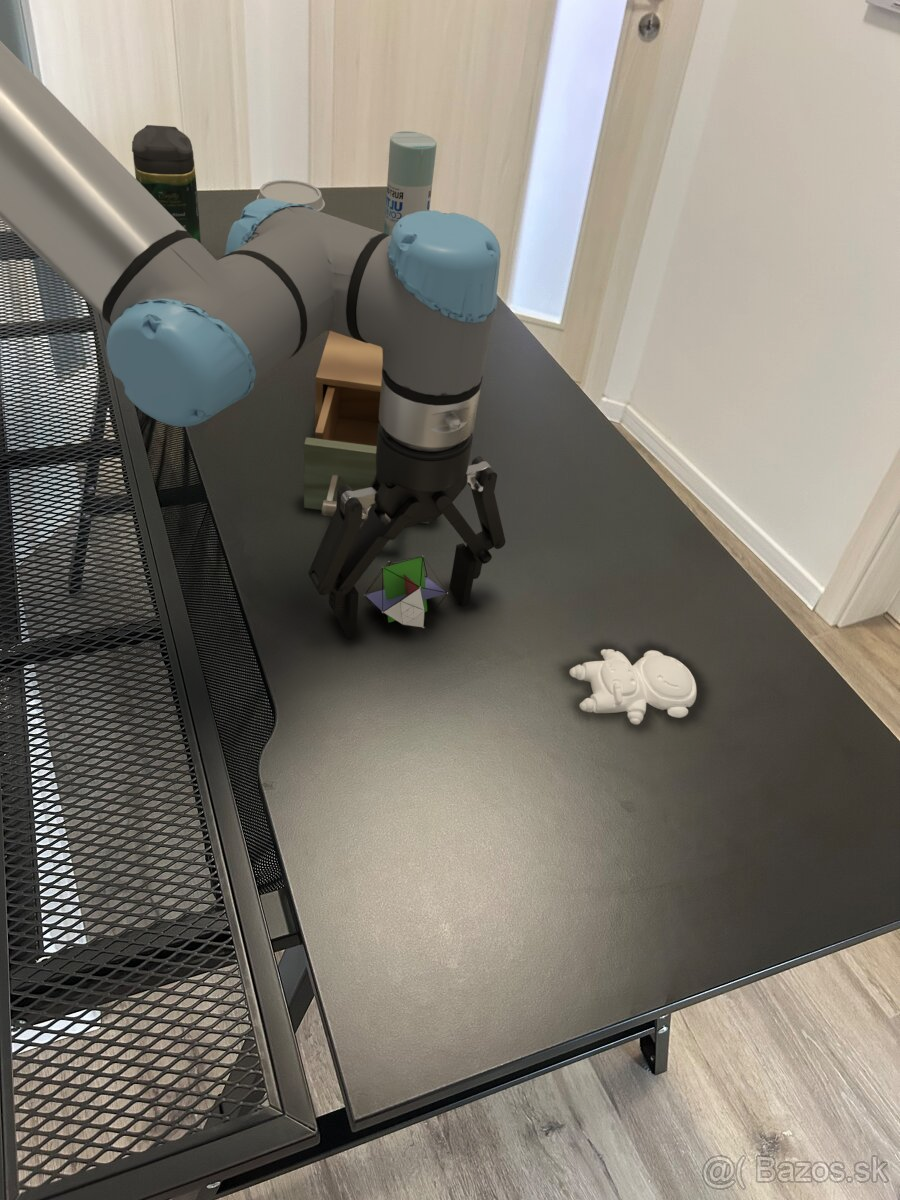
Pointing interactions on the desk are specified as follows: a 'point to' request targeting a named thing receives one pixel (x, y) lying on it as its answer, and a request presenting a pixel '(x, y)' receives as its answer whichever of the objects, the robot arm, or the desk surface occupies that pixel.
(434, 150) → the spray paint can
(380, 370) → the cabinet
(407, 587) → the geometric puzzle
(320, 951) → the desk surface
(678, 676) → the astronaut figurine
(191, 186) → the coffee jar
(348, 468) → the drawer
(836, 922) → the desk surface
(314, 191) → the disposable coffee cup
